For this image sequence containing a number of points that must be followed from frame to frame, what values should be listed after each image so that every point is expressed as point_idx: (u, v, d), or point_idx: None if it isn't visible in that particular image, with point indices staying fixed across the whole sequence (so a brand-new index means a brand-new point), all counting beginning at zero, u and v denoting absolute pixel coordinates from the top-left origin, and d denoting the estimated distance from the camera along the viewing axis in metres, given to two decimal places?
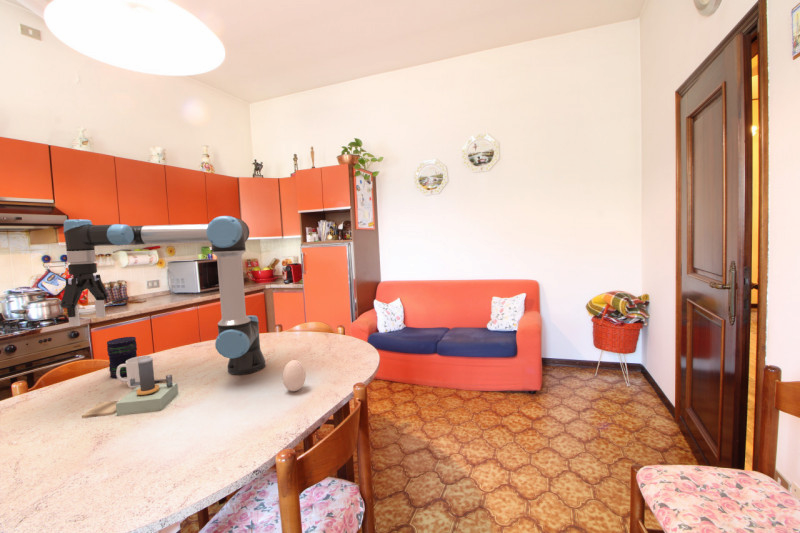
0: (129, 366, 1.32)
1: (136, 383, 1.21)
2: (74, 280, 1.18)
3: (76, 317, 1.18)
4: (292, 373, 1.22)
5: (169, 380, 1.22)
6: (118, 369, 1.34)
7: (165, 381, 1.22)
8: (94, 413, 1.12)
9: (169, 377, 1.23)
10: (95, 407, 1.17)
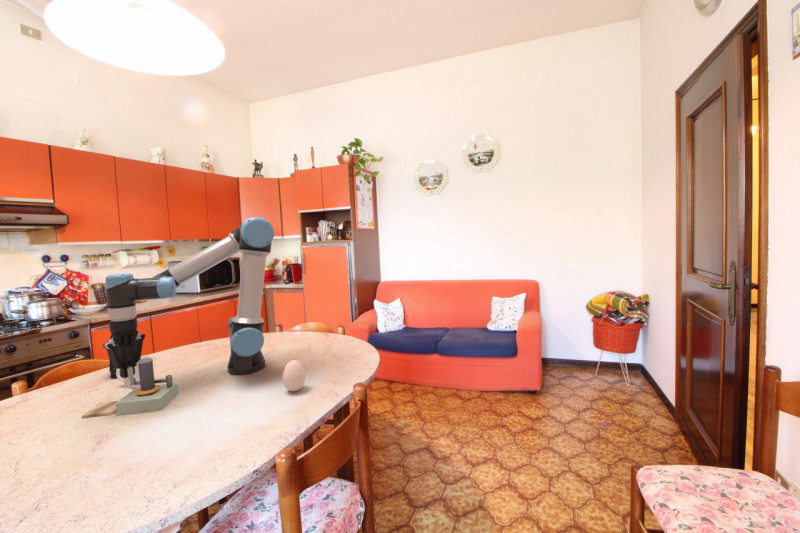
0: None
1: (136, 383, 1.21)
2: (109, 346, 1.13)
3: (128, 378, 1.19)
4: (292, 373, 1.22)
5: (169, 380, 1.22)
6: (118, 369, 1.34)
7: (165, 381, 1.23)
8: (94, 413, 1.12)
9: (169, 377, 1.22)
10: (95, 407, 1.17)
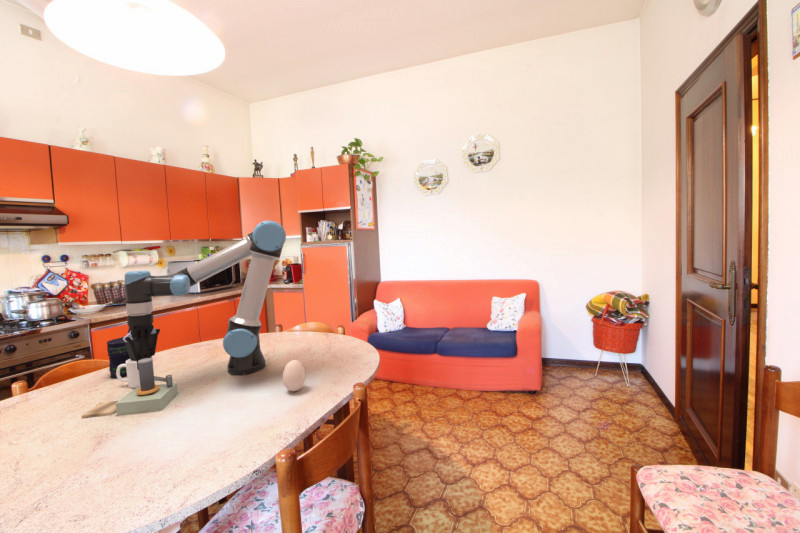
0: (129, 366, 1.32)
1: None
2: (127, 339, 1.19)
3: None
4: (292, 373, 1.22)
5: (167, 381, 1.22)
6: (118, 369, 1.34)
7: (165, 380, 1.23)
8: (94, 413, 1.12)
9: (167, 377, 1.22)
10: (95, 407, 1.17)
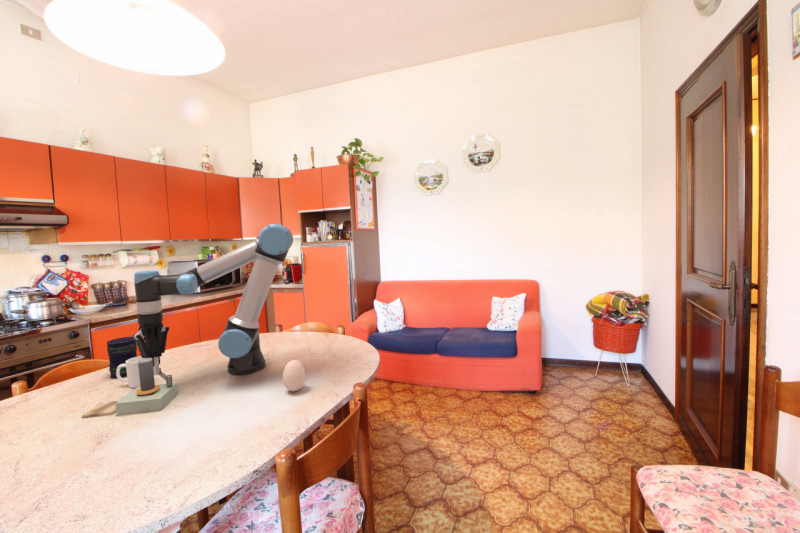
0: (129, 366, 1.32)
1: (159, 373, 1.29)
2: (138, 337, 1.22)
3: (154, 367, 1.28)
4: (292, 373, 1.22)
5: (166, 381, 1.22)
6: (118, 369, 1.34)
7: None
8: (94, 413, 1.12)
9: (167, 377, 1.22)
10: (95, 407, 1.17)
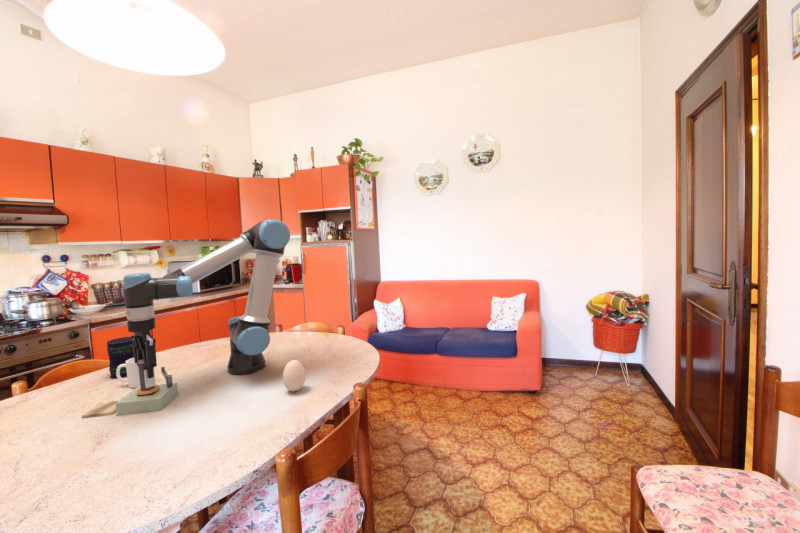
0: (129, 366, 1.32)
1: (162, 372, 1.30)
2: None
3: (153, 377, 1.18)
4: (292, 373, 1.22)
5: (166, 381, 1.22)
6: (118, 369, 1.34)
7: None
8: (94, 413, 1.12)
9: (166, 377, 1.22)
10: (95, 407, 1.17)
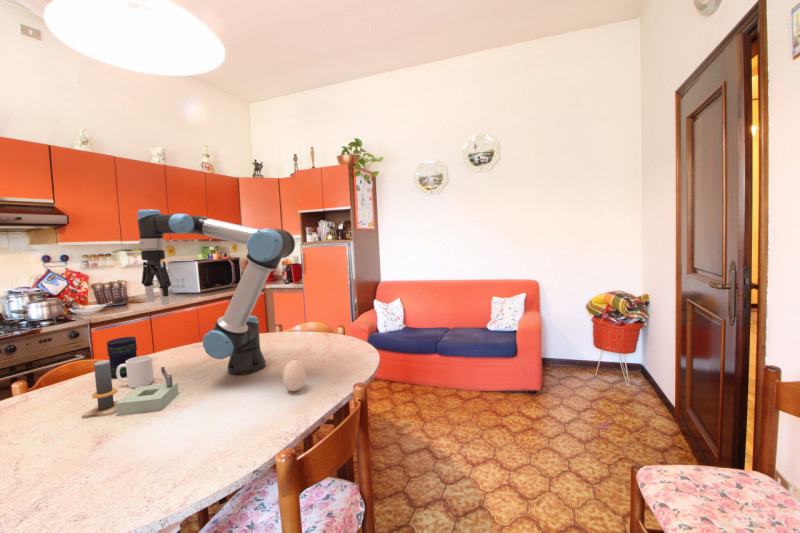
0: (129, 366, 1.32)
1: (162, 372, 1.30)
2: None
3: (168, 296, 1.33)
4: (292, 373, 1.22)
5: (166, 381, 1.22)
6: (118, 369, 1.34)
7: None
8: (94, 413, 1.12)
9: (166, 377, 1.22)
10: (95, 407, 1.17)
